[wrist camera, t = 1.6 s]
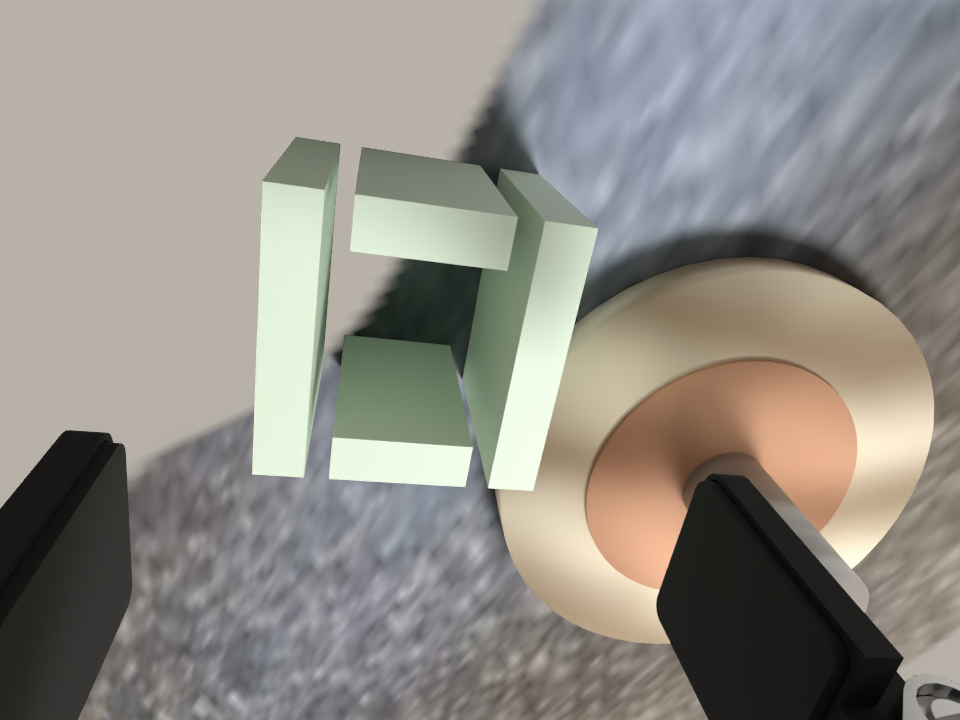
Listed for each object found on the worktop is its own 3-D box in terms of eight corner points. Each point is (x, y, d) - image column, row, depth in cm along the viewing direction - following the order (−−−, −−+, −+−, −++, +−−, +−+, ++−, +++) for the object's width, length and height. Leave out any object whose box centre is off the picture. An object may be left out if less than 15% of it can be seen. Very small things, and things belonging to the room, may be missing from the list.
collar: (296, 137, 18) (262, 181, 13) (539, 174, 20) (598, 228, 15) (283, 363, 21) (252, 474, 16) (497, 382, 23) (533, 491, 17)
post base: (545, 226, 21) (624, 321, 14) (979, 286, 24) (1215, 388, 17) (462, 610, 27) (489, 799, 21) (810, 619, 30) (931, 785, 24)
